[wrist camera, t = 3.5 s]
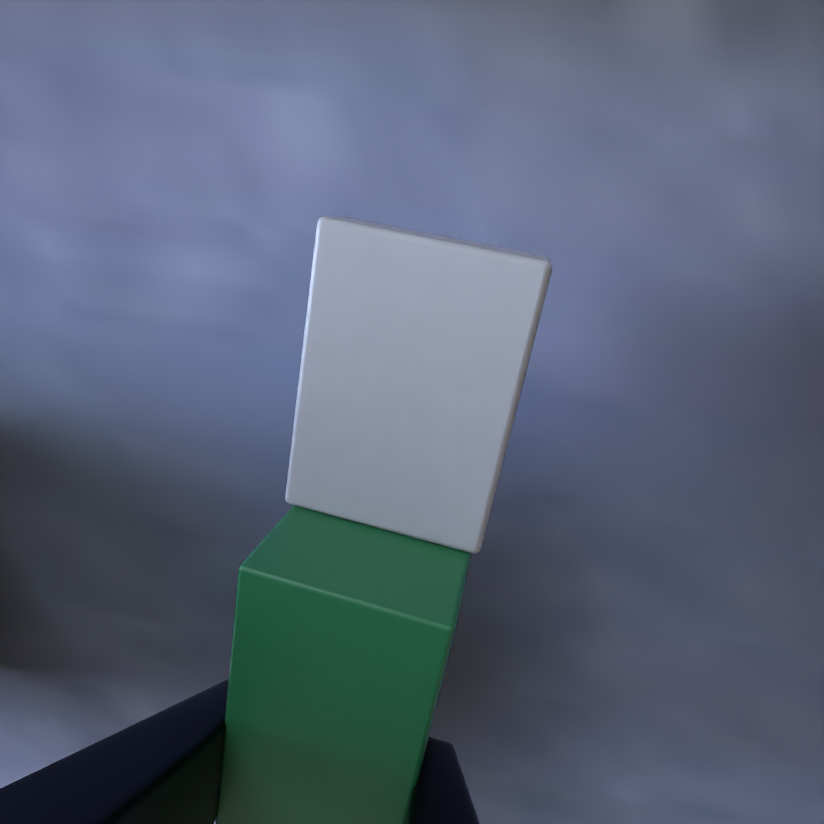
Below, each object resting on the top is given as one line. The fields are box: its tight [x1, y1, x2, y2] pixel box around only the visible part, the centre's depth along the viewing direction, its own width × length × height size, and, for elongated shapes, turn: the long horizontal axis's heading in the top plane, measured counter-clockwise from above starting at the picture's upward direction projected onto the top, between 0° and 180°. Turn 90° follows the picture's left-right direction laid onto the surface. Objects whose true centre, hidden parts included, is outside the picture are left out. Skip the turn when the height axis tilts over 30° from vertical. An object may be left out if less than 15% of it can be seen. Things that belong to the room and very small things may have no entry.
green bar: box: [216, 216, 552, 824], centre depth 8 cm, size 10×3×2 cm, turn 170°
